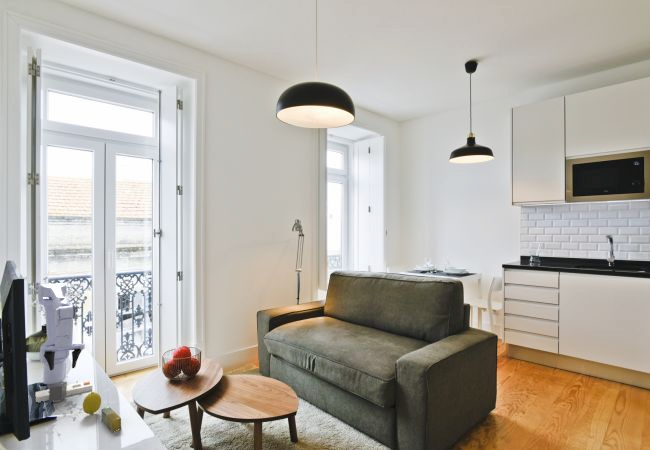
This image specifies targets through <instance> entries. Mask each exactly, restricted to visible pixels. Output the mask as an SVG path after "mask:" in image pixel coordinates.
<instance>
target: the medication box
mask: <svg viewBox="0 0 650 450" xmlns="http://www.w3.org/2000/svg"><path fill="white" fill-rule="evenodd" d="M101 421H102V422H103V423H104V424H105V425H106V427H108V428H109V429H110V431H111V430H112V431H113V432H112V431H111V432H112V433H114V431H115V432H117V431H116V430H118V429H120V430H122V418H121V416H119V415H118V414H117V412H115V411H114V409H112V407H110V406H107V407H103V408H102V409H101ZM118 431H119V430H118Z"/></svg>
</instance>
